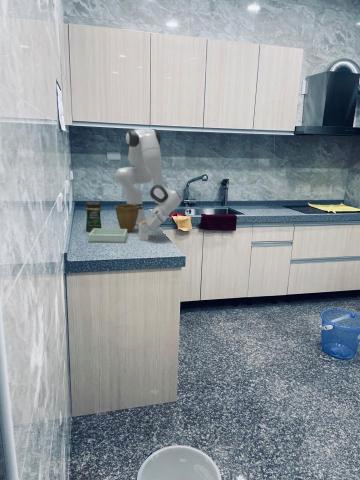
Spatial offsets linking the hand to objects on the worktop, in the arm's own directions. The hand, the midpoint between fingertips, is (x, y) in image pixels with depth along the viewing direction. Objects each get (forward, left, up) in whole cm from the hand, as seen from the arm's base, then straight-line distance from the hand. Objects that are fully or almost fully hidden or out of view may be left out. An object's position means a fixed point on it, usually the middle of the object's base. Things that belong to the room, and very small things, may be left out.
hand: (142, 230), depth 207 cm
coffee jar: (-20, -31, -5) cm, 38 cm away
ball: (0, +1, +4) cm, 4 cm away
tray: (+1, -19, -5) cm, 20 cm away
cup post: (0, +1, -5) cm, 5 cm away
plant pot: (-21, -10, -5) cm, 24 cm away
